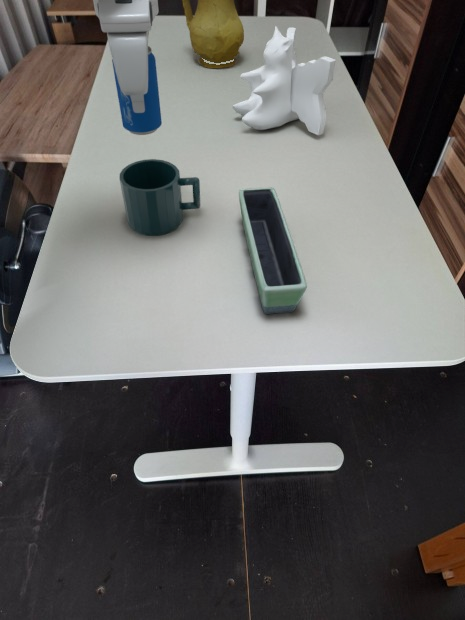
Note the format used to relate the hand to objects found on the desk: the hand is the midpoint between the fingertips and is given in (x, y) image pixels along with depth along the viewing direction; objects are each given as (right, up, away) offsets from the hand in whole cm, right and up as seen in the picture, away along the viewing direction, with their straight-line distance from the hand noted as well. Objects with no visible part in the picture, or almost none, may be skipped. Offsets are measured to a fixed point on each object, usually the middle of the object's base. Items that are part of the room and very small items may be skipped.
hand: (139, 100), depth 72 cm
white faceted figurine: (+26, +16, +48) cm, 57 cm away
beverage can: (0, -3, +4) cm, 5 cm away
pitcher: (+9, +49, +77) cm, 92 cm away
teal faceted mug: (+1, -15, +18) cm, 24 cm away
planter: (+21, -25, +10) cm, 35 cm away
